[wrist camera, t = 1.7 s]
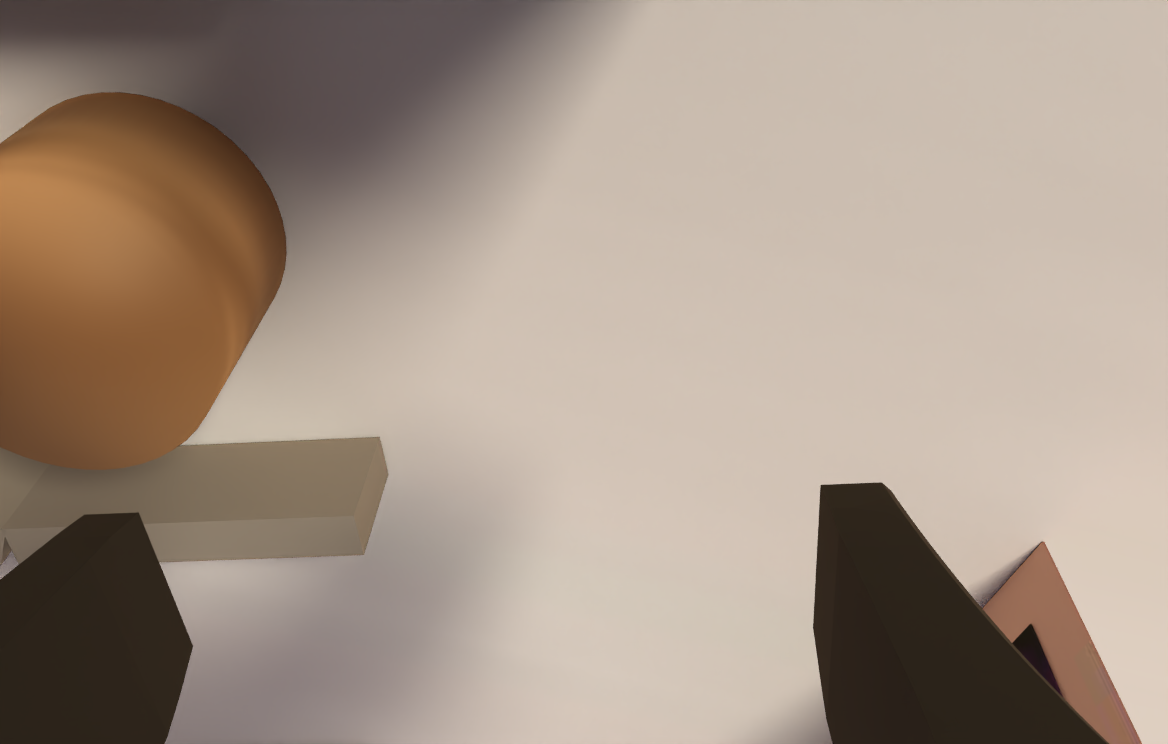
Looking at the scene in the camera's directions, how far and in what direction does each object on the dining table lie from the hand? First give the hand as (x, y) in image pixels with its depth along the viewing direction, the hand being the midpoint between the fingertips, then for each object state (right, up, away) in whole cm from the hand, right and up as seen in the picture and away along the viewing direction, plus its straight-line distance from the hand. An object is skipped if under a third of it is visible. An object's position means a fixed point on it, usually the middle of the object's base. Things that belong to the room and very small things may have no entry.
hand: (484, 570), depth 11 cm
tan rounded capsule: (-7, +5, +8) cm, 12 cm away
